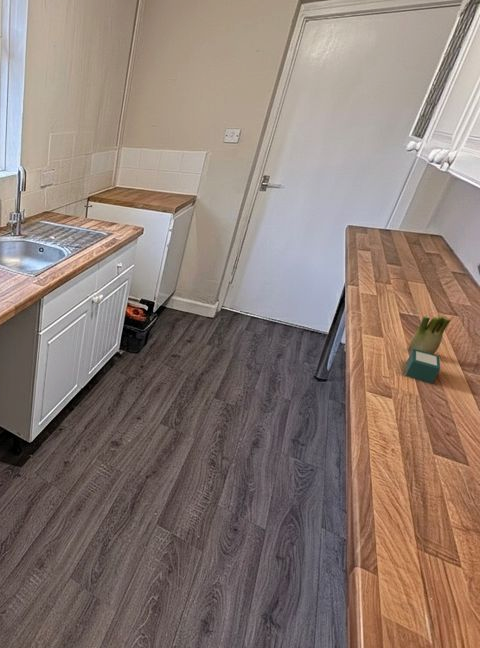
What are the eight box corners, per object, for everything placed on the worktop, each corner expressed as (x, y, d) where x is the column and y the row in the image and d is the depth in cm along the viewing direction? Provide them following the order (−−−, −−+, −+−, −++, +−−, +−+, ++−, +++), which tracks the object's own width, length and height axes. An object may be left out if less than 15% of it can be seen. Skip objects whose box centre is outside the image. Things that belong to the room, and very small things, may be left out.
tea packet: (432, 383, 106) (440, 368, 104) (405, 375, 109) (412, 361, 107) (431, 369, 111) (439, 355, 110) (406, 362, 115) (413, 348, 113)
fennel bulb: (405, 353, 119) (423, 316, 114) (405, 346, 122) (423, 310, 118) (434, 360, 115) (454, 323, 111) (433, 354, 119) (453, 317, 114)
